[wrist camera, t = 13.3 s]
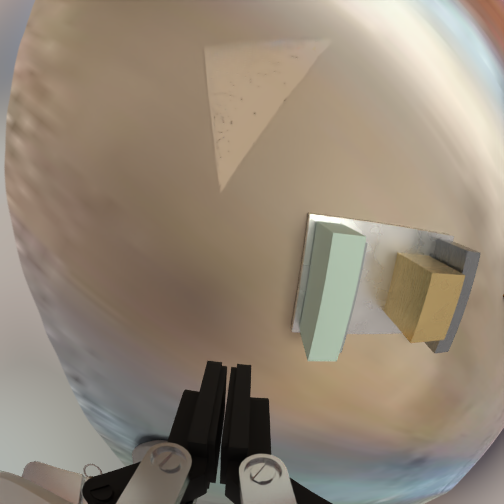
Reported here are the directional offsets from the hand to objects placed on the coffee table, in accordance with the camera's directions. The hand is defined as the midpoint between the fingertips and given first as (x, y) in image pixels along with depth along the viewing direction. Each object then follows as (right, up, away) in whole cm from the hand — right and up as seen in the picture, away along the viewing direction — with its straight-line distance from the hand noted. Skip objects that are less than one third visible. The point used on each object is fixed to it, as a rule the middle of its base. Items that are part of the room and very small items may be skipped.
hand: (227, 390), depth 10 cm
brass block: (+16, +2, +14) cm, 21 cm away
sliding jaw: (+7, +3, +13) cm, 15 cm away
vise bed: (+13, +3, +14) cm, 20 cm away
